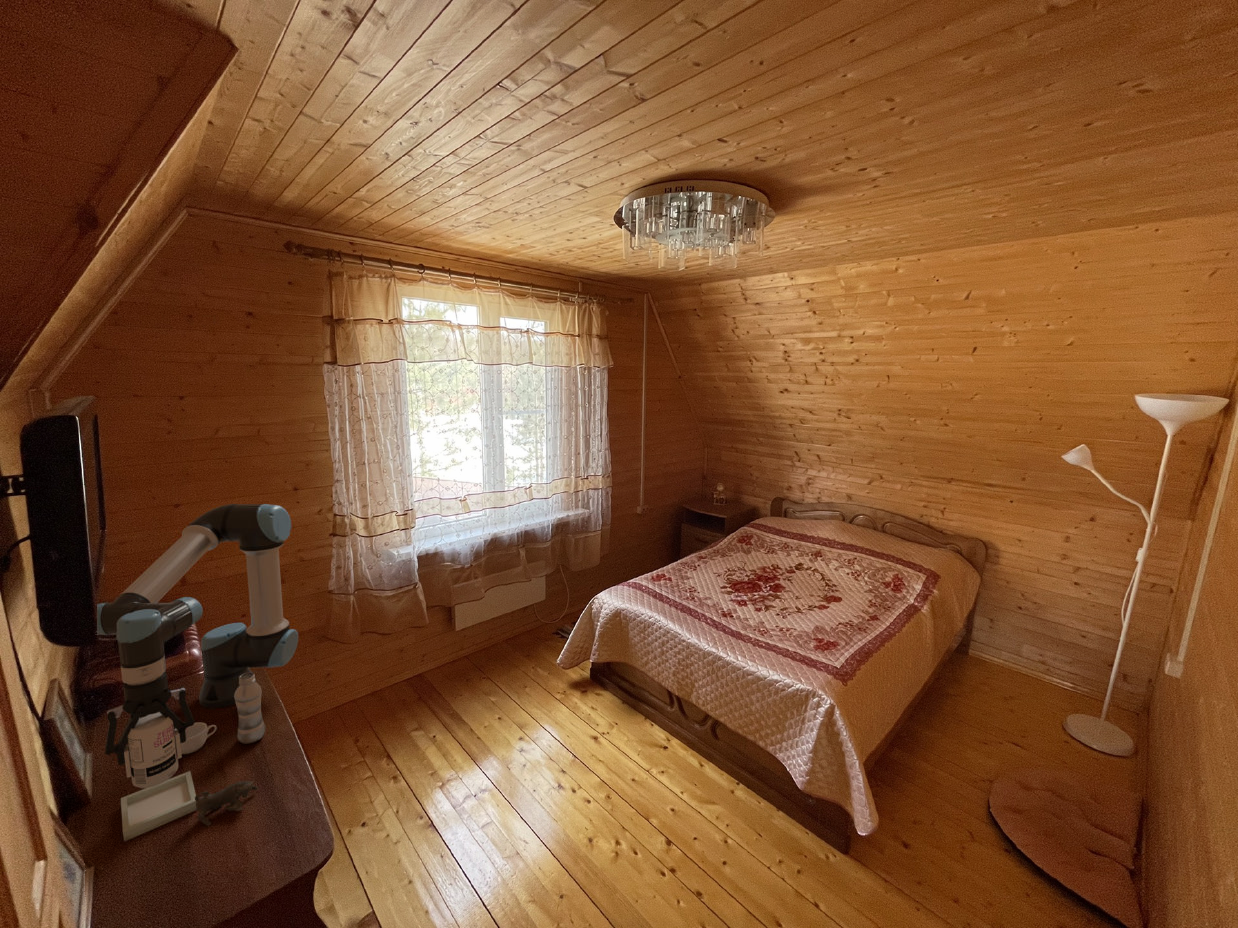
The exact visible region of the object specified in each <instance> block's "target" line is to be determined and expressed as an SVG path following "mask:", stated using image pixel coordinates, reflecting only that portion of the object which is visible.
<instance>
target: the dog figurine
mask: <svg viewBox="0 0 1238 928" xmlns="http://www.w3.org/2000/svg"><path fill="white" fill-rule="evenodd" d="M254 784H255V781H250V780H242V781H241V780H240V781H237V782H235V783H232V784H230V785H228V786H226V787H225V788H224V789H221V790H219V791H217V792H215V793H210V791H207V790H206V791H202V792H198V794H196V796H195V800H196V808H197V810H196V811H198V816H197V820H198V821H199V822H202V824H204V825H206V826H207V827H209V826H211V825H212V821H211V820H208V819H207V817H206V815H207V814H208V812H211V811H214V810H216V809H220V808H221V807H222V806H224V805H226V804H229V805H227V806H226V807H224V810H225V811H231V812H234V811H236V812H241V811H242V810H243V807H242V806H243V802H242V801H241V800H240V798H244V799H245V798H247V797H248V796H249V793H250V791H252V790H253V791H256V790H258V786H257V785H254ZM200 796H201V797H200ZM219 807H220V808H219Z"/></svg>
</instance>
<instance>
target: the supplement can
mask: <svg viewBox="0 0 1238 928" xmlns="http://www.w3.org/2000/svg"><path fill="white" fill-rule="evenodd" d="M175 729H176V728H175V727H174V726H173V721H172V720H171V719H170V718H169V716H168V718H165V717H164V716H163V715H162V714H161V713H160V712H159V711H158V713H155V714H149V715H147V716H145V717H143V718H139V720H138V722H137V723H136V725H135V727H134V729H131V731H130V733H129V735H128V743H127V745H128V750H129V759H130V767H131V777H130V778H131V783H132V786H134V787H135V788H136V787H137V788H140V789H145V788H149V787H153V786H156V785H158V784H161V783H163V782H165V781H166V780H168V779H171V778H173V775H174V774H175V773H176V772H177V771H178V769H179V759H178V758H177V749H176V739H175Z"/></svg>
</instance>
